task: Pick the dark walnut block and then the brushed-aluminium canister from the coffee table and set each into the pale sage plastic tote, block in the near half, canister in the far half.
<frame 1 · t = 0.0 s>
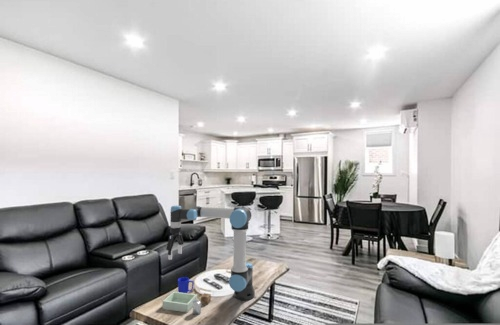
hand: (175, 256, 191), 28 cm above the table, fingers open, 13 cm apart
canister: (196, 313, 166), on the table
mug: (185, 293, 194), on the table
walnut block: (205, 302, 180), on the table
tote: (180, 305, 176), on the table
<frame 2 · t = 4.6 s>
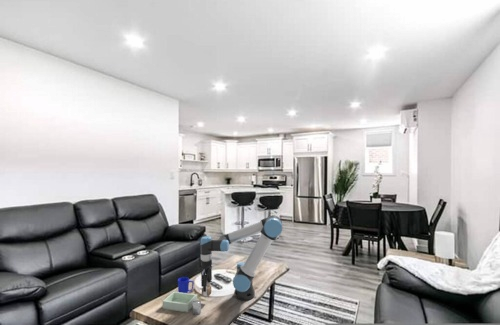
hand: (207, 293, 180), 6 cm above the table, fingers closed on walnut block, 5 cm apart
walnut block: (206, 294, 180), point 5 cm above the table, touching gripper
everything else where it was.
when the fingers open (5 cm above the table, at t = 7.5 s): walnut block drops 4 cm, resting on tote.
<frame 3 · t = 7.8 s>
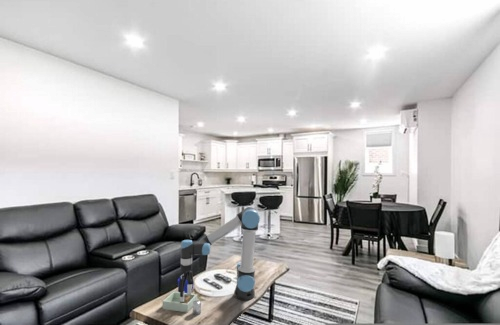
hand: (185, 297, 175), 6 cm above the table, fingers open, 9 cm apart
walnut block: (185, 305, 175), point 1 cm above the table, touching tote
everything else where it was.
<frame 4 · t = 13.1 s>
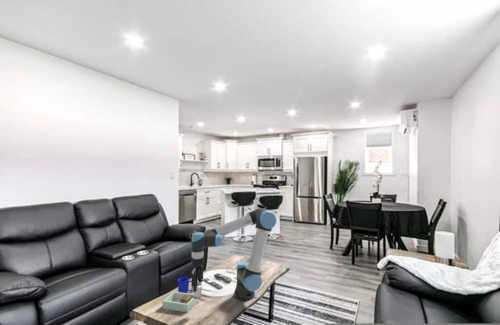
hand: (197, 294, 167), 12 cm above the table, fingers closed on canister, 5 cm apart
canister: (197, 297, 167), point 10 cm above the table, touching gripper
everything else where it was.
when the fingers open (5 cm above the table, at t = 16.0 s): canister drops 2 cm, resting on tote.
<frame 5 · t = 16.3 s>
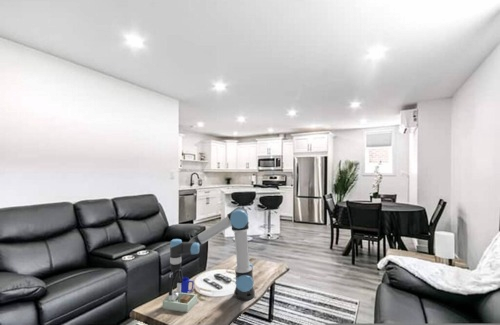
hand: (175, 296, 177), 6 cm above the table, fingers open, 10 cm apart
canister: (174, 303, 177), point 1 cm above the table, touching tote
everything else where it was.
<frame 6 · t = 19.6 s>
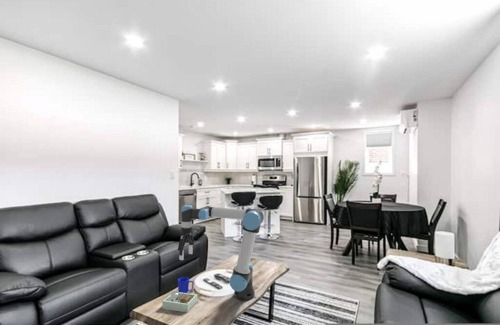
hand: (186, 256, 188), 29 cm above the table, fingers open, 13 cm apart
nothing on the table moved.
at the end: walnut block inside the target area on the tote (3.7 cm from its centre), point 0.6 cm above the tote's base; canister inside the target area on the tote (4.2 cm from its centre), point 0.7 cm above the tote's base; the gripper is holding nothing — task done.
